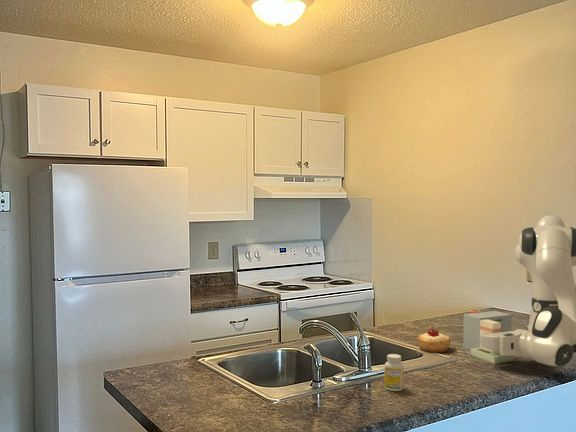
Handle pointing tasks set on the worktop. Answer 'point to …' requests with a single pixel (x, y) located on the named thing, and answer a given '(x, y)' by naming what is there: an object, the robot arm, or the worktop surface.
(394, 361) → the supplement bottle
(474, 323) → the dispenser
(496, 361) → the tray
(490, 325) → the pink striped block
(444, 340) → the pastry
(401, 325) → the worktop surface
